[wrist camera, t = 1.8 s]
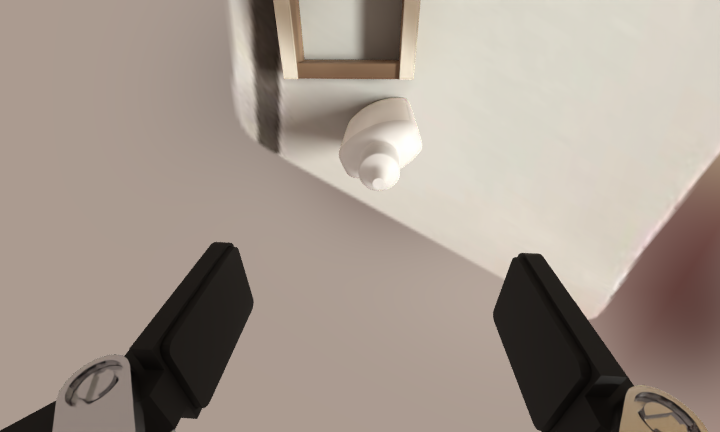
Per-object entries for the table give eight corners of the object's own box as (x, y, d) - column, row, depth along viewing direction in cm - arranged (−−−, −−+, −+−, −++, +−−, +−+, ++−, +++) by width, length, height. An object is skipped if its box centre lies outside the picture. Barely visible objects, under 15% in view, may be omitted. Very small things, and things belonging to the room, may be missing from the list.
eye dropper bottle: (350, 90, 24) (328, 138, 14) (417, 98, 24) (441, 151, 14) (347, 141, 27) (325, 212, 17) (408, 148, 27) (422, 223, 17)
